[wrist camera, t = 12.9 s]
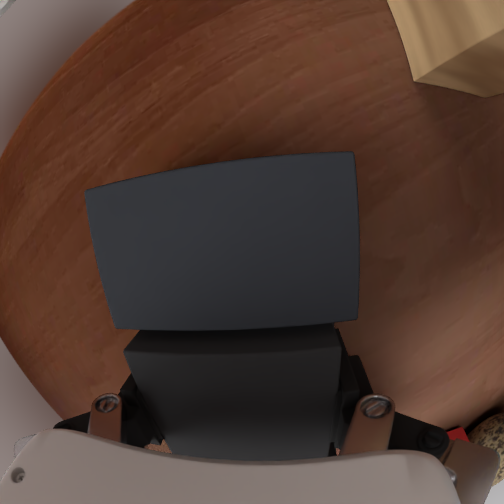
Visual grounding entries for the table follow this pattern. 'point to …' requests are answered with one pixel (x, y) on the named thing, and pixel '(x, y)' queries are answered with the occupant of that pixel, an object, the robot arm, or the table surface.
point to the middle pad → (240, 390)
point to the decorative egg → (491, 439)
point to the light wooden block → (454, 43)
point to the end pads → (231, 244)
